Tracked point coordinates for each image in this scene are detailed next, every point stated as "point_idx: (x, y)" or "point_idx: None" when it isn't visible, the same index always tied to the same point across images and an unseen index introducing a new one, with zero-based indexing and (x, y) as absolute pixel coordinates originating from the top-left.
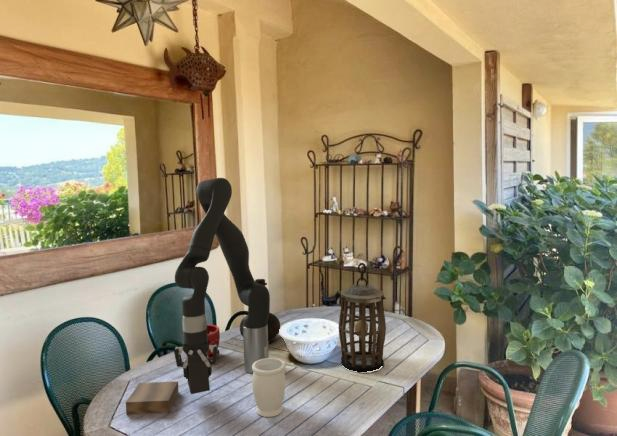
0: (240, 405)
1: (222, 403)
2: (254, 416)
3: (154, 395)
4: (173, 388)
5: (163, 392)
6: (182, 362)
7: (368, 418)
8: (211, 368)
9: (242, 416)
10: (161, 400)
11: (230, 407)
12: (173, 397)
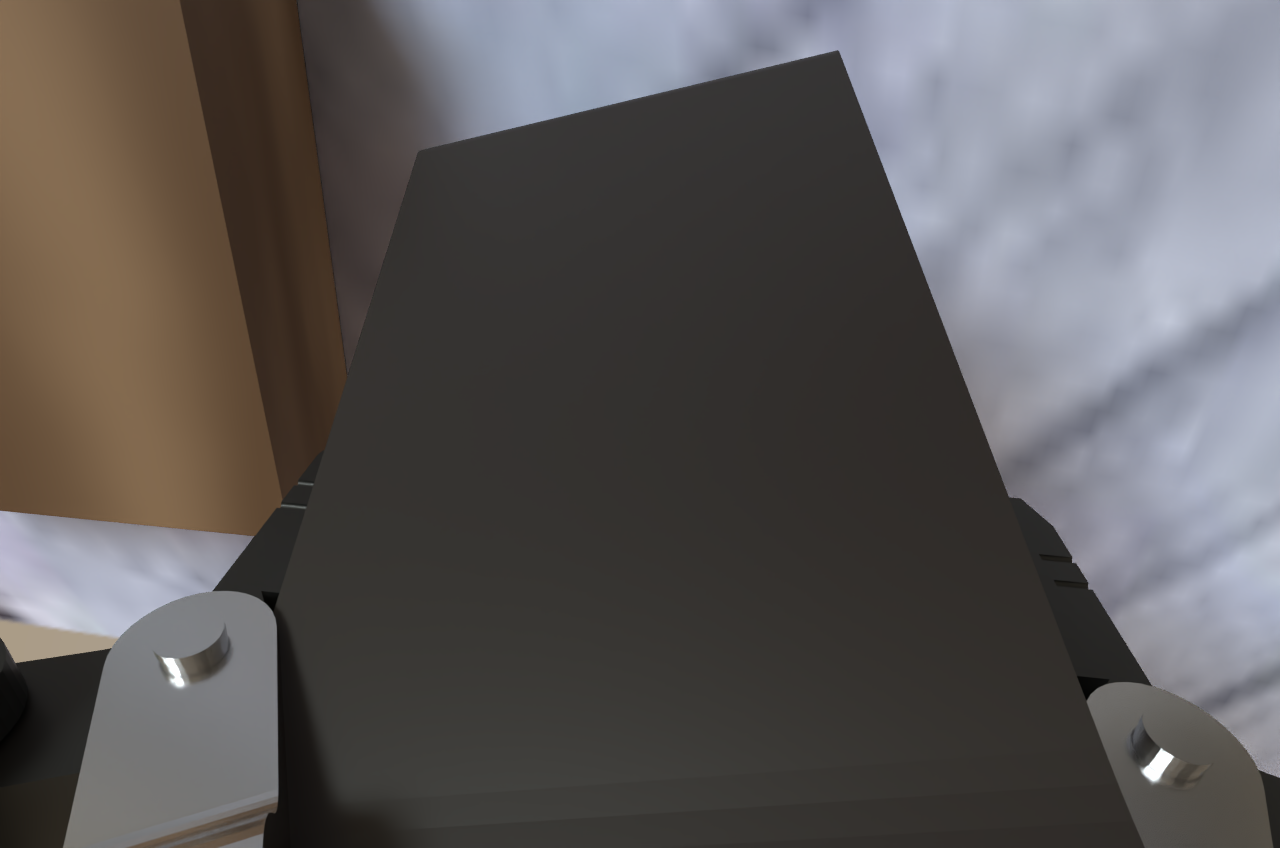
0: (1200, 438)
1: (991, 354)
2: (1251, 645)
3: (3, 373)
4: (199, 185)
5: (93, 303)
6: (58, 834)
7: None
8: (1100, 619)
9: (1135, 626)
10: (195, 523)
11: (1066, 458)
12: (291, 239)
